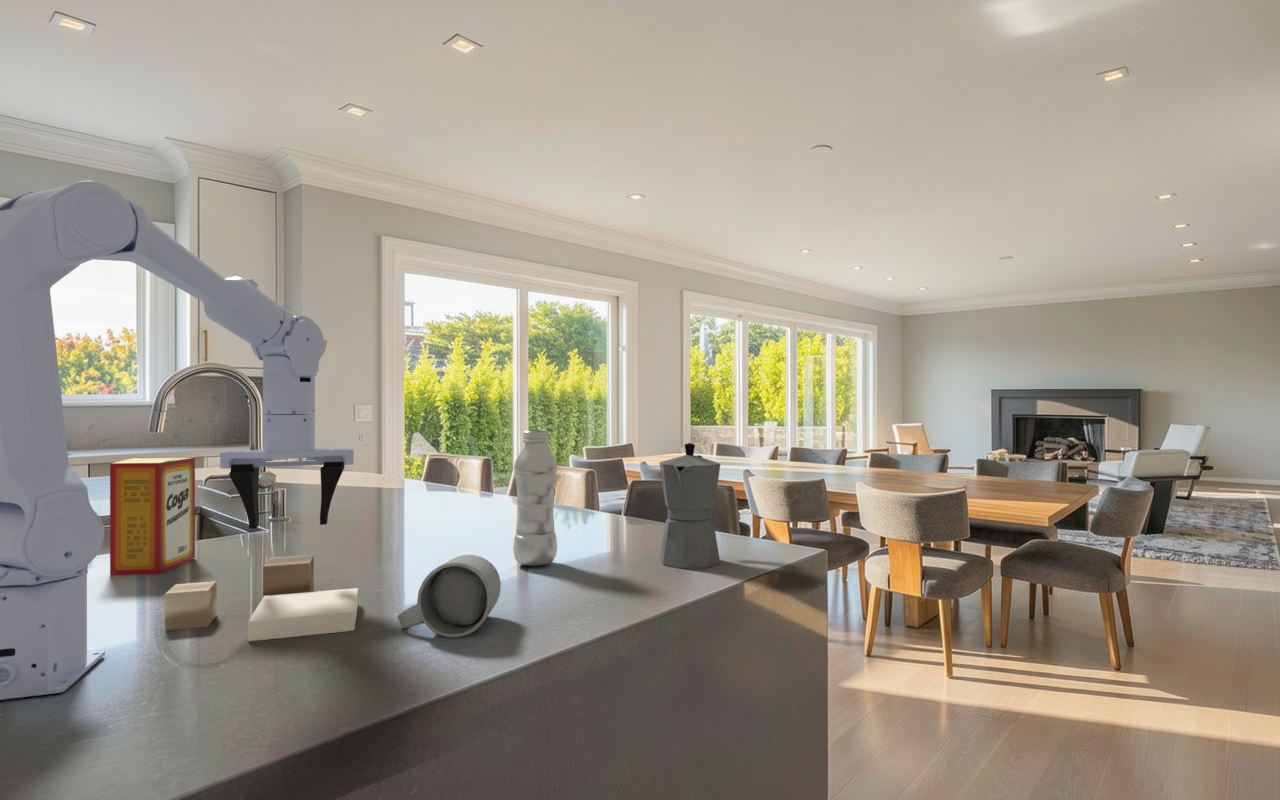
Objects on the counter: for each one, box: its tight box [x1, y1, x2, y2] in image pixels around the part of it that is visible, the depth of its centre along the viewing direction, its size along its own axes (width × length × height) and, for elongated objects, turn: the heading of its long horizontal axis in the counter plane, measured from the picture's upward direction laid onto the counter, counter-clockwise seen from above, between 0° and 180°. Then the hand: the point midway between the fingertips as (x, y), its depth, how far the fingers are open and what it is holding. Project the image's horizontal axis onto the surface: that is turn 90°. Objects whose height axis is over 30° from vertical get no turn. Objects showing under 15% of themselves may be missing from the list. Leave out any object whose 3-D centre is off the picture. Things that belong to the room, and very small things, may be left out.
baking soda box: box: [109, 457, 196, 576], centre depth 104 cm, size 10×6×16 cm
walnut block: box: [262, 554, 315, 598], centre depth 86 cm, size 5×5×5 cm
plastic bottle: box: [512, 429, 558, 567], centre depth 105 cm, size 6×7×20 cm
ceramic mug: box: [397, 554, 502, 638], centre depth 77 cm, size 11×8×8 cm
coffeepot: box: [659, 442, 722, 570], centre depth 108 cm, size 15×9×18 cm, turn 164°
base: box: [247, 587, 359, 642], centre depth 78 cm, size 10×10×2 cm
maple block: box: [164, 580, 218, 631], centre depth 78 cm, size 4×4×4 cm
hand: (289, 525), depth 86 cm, fingers open, 7 cm apart
